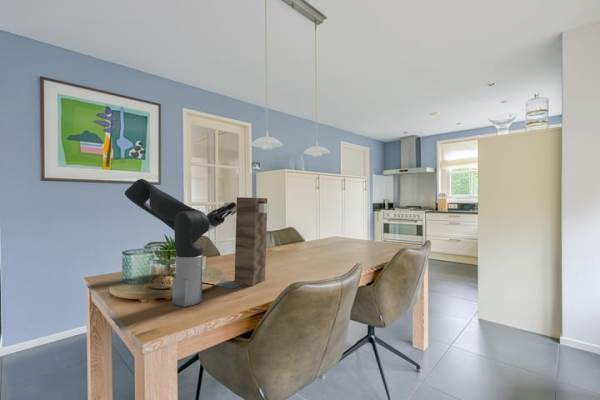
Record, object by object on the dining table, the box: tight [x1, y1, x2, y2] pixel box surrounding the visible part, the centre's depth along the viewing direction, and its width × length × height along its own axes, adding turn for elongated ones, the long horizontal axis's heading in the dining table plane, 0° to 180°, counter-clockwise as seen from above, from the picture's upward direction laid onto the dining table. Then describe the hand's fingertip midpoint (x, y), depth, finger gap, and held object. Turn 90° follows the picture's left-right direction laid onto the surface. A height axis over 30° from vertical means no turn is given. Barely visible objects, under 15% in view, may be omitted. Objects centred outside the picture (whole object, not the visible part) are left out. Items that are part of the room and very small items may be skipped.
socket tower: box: [234, 196, 268, 287], centre depth 128 cm, size 10×10×38 cm
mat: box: [214, 279, 243, 290], centre depth 126 cm, size 7×25×1 cm, turn 66°
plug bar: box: [223, 201, 270, 214], centre depth 130 cm, size 4×22×4 cm, turn 66°
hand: (237, 203), depth 132 cm, fingers closed on plug bar, 4 cm apart
